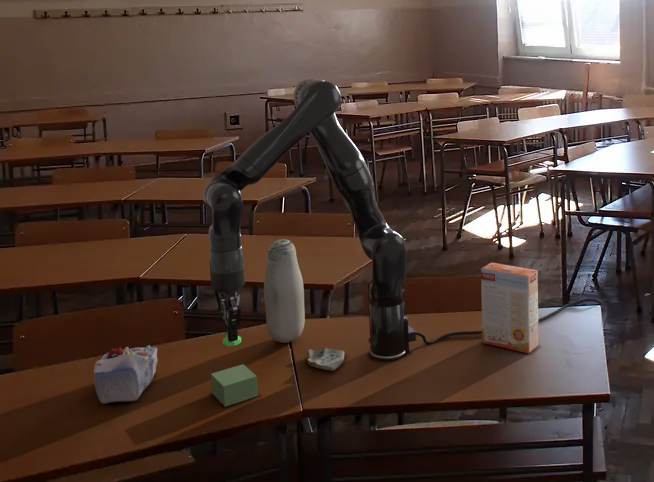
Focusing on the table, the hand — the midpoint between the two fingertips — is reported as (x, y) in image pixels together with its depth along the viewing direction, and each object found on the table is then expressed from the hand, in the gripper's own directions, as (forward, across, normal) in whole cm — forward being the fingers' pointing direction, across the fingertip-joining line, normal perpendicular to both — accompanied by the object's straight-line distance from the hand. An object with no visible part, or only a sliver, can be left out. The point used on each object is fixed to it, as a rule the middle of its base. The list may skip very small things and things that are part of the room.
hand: (231, 337), depth 192 cm
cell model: (+14, +16, +22) cm, 31 cm away
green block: (+14, 0, 0) cm, 14 cm away
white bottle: (+14, +24, -19) cm, 34 cm away
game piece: (+1, 0, 0) cm, 1 cm away
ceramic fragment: (+14, +6, -23) cm, 28 cm away
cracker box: (+14, -8, -70) cm, 72 cm away
